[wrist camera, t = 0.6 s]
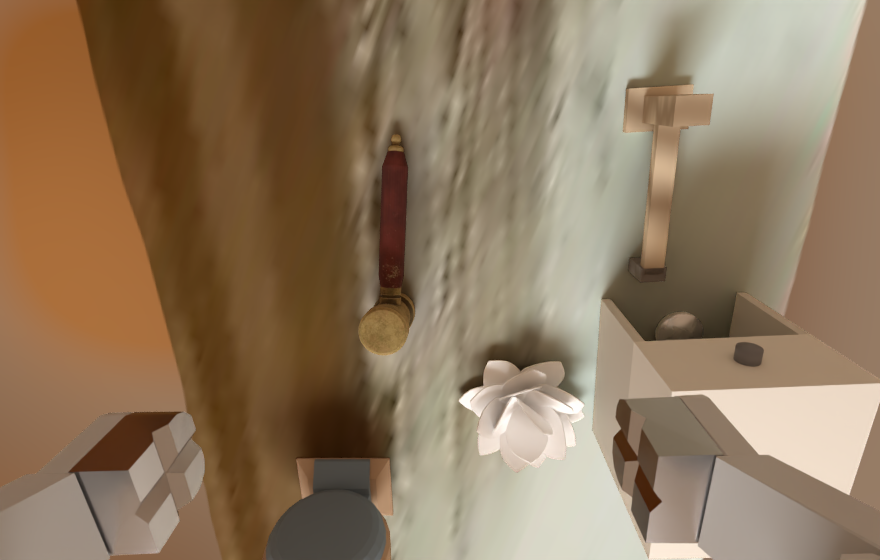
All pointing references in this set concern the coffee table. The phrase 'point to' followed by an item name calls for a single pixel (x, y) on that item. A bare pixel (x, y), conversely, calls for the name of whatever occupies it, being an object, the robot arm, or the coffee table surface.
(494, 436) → the lotus flower
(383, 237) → the gavel
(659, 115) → the hook tool
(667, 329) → the disc
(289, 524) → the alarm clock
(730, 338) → the cabinet
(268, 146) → the coffee table surface
